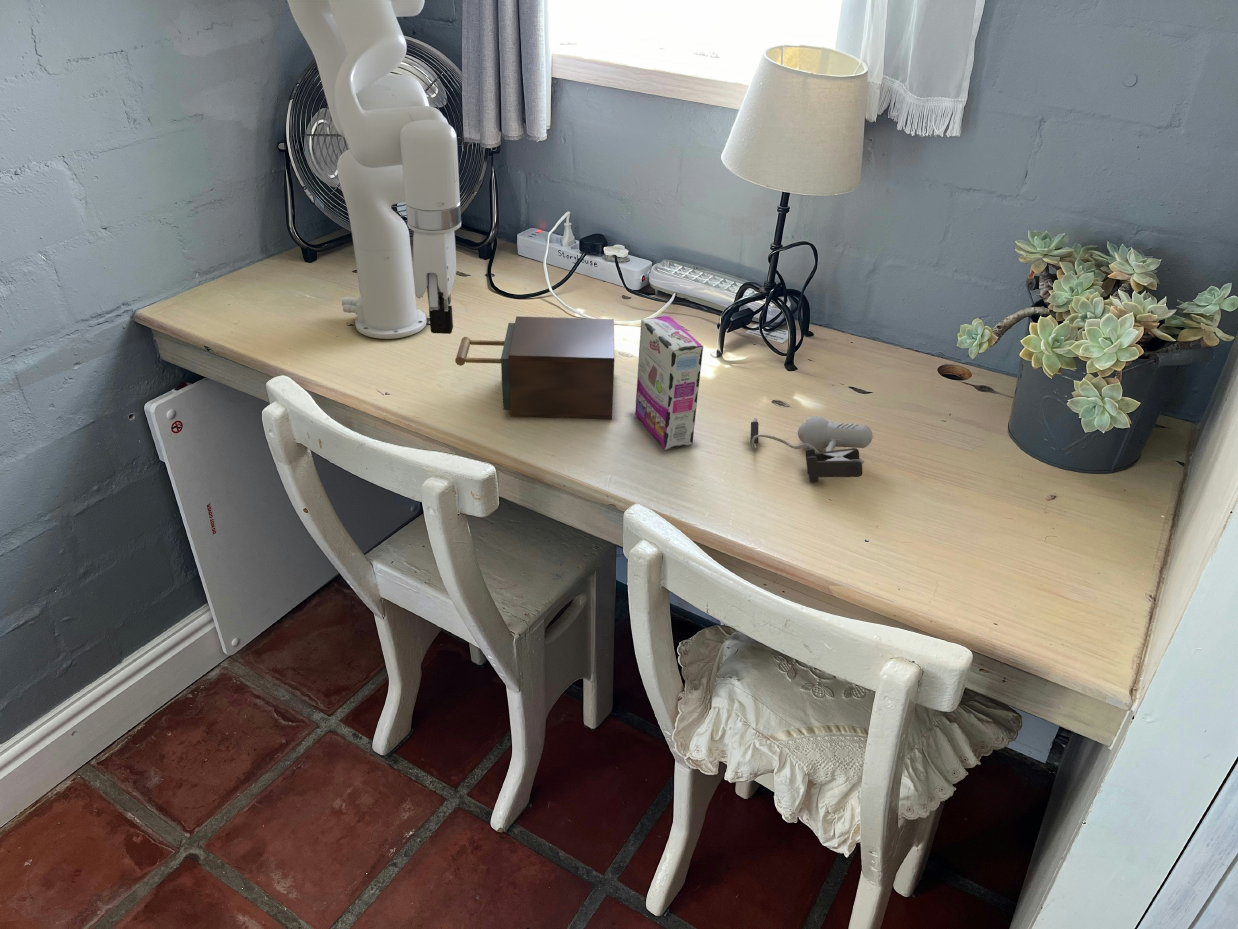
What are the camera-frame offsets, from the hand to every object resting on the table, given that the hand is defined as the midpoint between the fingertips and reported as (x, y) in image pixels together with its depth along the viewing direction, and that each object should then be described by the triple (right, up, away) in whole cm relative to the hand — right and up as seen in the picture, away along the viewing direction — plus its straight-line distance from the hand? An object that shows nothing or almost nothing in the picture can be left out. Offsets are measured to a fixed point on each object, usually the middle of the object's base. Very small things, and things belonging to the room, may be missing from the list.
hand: (442, 330), depth 134 cm
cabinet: (+18, -10, +6) cm, 21 cm away
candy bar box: (+34, -15, -1) cm, 37 cm away
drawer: (+13, -9, +5) cm, 16 cm away
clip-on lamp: (+54, -20, -6) cm, 58 cm away
